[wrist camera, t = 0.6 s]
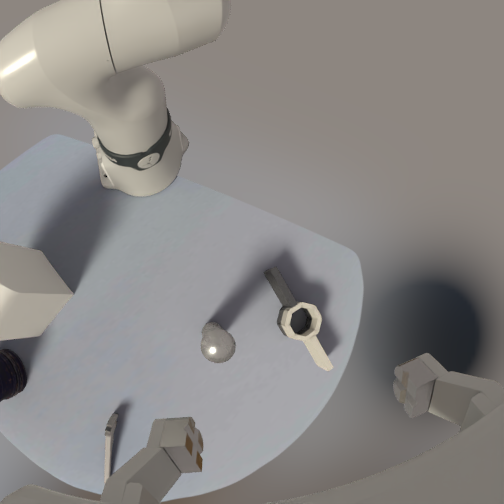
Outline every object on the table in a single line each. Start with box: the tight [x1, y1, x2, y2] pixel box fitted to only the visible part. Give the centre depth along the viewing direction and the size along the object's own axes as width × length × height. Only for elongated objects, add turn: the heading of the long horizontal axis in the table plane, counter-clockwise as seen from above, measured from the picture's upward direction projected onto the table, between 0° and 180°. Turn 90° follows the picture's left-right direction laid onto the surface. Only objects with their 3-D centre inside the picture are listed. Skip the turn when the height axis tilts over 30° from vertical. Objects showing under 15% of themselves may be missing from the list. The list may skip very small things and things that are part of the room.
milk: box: [0, 242, 74, 341], centre depth 32 cm, size 12×12×26 cm
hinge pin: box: [201, 322, 236, 363], centre depth 43 cm, size 4×4×15 cm
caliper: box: [104, 413, 118, 484], centre depth 39 cm, size 20×1×6 cm, turn 164°
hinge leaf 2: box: [281, 302, 333, 371], centre depth 51 cm, size 14×6×5 cm, turn 30°
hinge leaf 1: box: [264, 267, 312, 336], centre depth 51 cm, size 14×6×5 cm, turn 30°
